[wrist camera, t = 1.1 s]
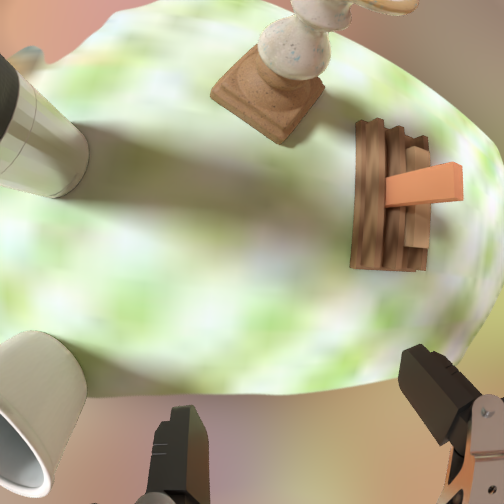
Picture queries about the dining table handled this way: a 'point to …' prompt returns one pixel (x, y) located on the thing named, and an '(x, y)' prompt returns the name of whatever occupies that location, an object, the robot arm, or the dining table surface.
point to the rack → (381, 200)
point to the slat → (425, 186)
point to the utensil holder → (36, 410)
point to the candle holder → (290, 64)
